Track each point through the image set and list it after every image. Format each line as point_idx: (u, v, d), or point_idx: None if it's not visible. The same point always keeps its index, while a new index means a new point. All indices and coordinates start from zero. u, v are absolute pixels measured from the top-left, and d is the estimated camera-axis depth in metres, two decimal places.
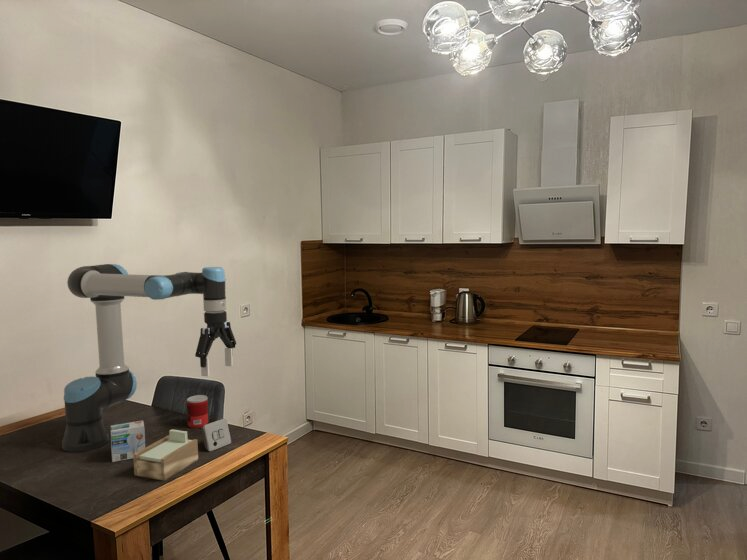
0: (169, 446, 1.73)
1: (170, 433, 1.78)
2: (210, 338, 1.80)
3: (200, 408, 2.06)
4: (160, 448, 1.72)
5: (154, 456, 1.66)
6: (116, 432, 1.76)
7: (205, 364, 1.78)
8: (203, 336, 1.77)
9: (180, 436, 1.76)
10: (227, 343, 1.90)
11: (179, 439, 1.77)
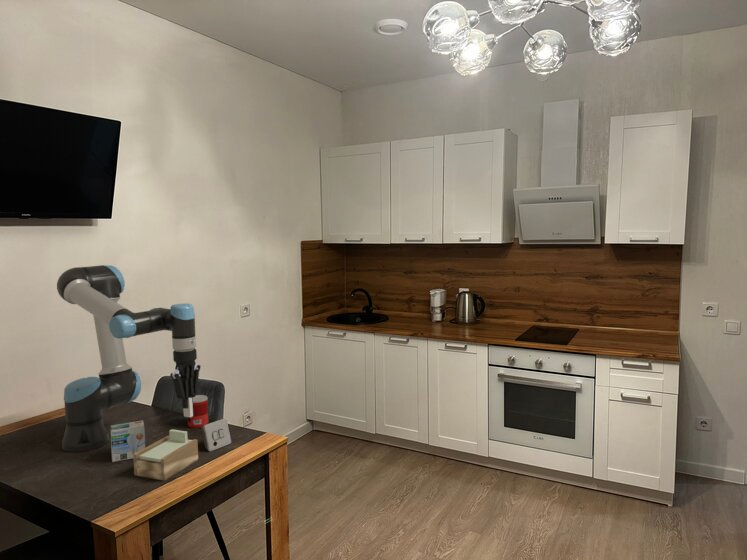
0: (169, 446, 1.73)
1: (170, 433, 1.78)
2: (184, 379, 1.78)
3: (200, 408, 2.06)
4: (160, 448, 1.72)
5: (154, 456, 1.66)
6: (116, 432, 1.76)
7: (187, 405, 1.80)
8: (176, 381, 1.75)
9: (180, 436, 1.76)
10: (189, 388, 1.81)
11: (179, 439, 1.77)
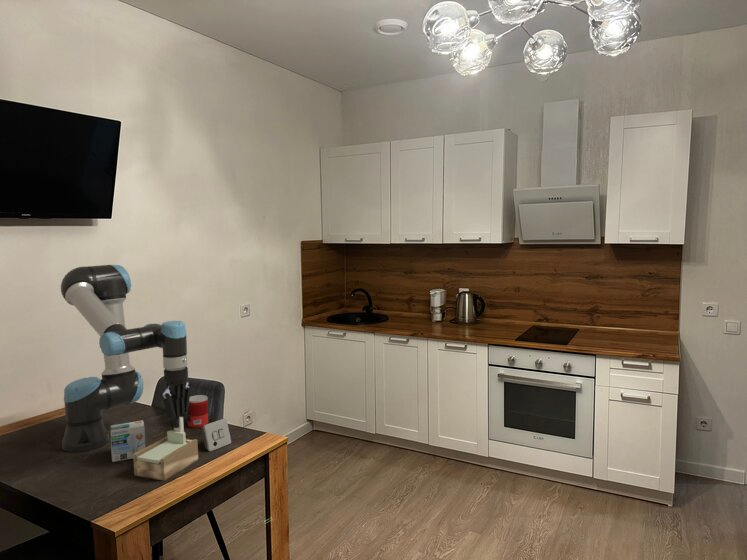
0: (167, 447, 1.72)
1: (168, 434, 1.77)
2: (174, 398, 1.74)
3: (200, 408, 2.06)
4: (158, 449, 1.71)
5: (152, 457, 1.65)
6: (116, 432, 1.76)
7: (178, 425, 1.76)
8: (167, 401, 1.71)
9: (178, 437, 1.75)
10: (180, 408, 1.77)
11: (177, 440, 1.76)
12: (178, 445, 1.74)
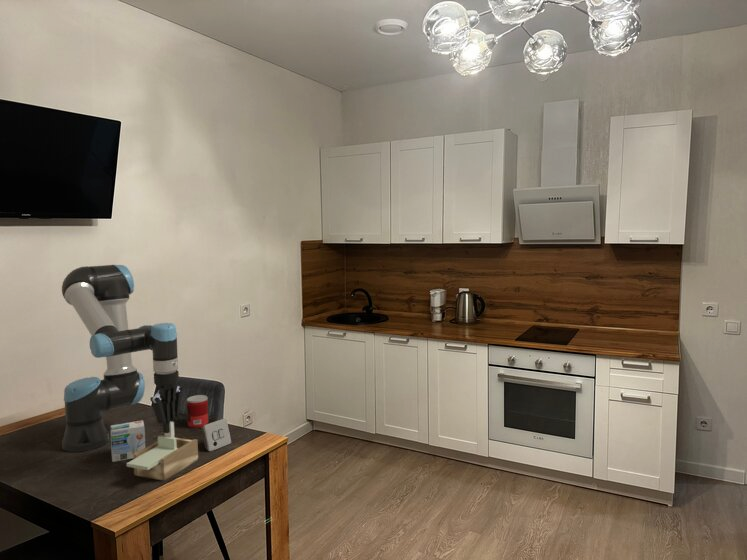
0: (157, 453, 1.68)
1: (158, 439, 1.72)
2: (165, 403, 1.70)
3: (200, 408, 2.06)
4: (148, 455, 1.66)
5: (142, 464, 1.60)
6: (116, 432, 1.76)
7: (168, 430, 1.72)
8: (156, 405, 1.67)
9: (169, 442, 1.71)
10: (170, 412, 1.73)
11: (167, 445, 1.71)
12: (169, 451, 1.70)
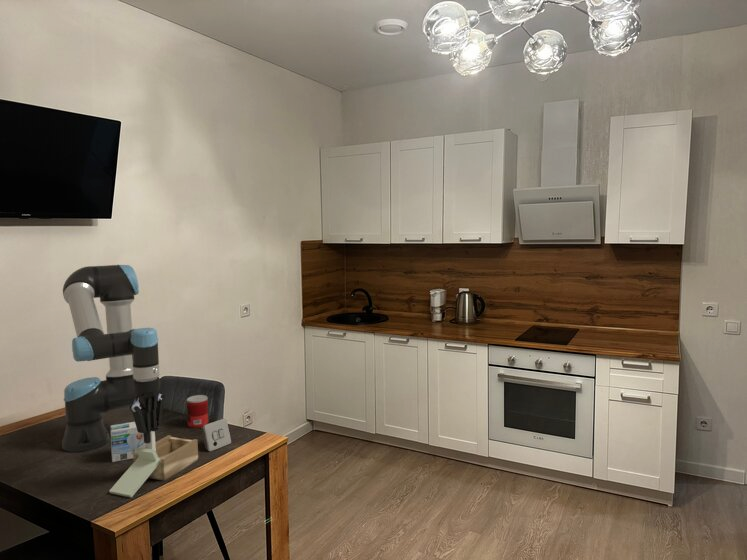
0: (139, 469, 1.61)
1: (138, 452, 1.64)
2: (145, 411, 1.62)
3: (200, 408, 2.06)
4: (130, 474, 1.60)
5: (124, 490, 1.55)
6: (116, 432, 1.76)
7: (149, 440, 1.64)
8: (136, 414, 1.59)
9: (149, 455, 1.63)
10: (151, 421, 1.65)
11: (148, 457, 1.64)
12: (151, 464, 1.62)
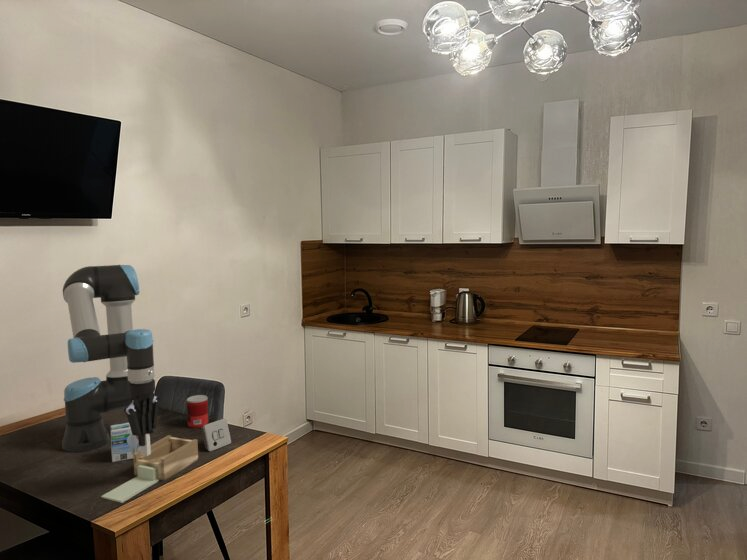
0: (136, 484, 1.60)
1: (138, 469, 1.64)
2: (140, 414, 1.60)
3: (200, 408, 2.06)
4: (126, 487, 1.58)
5: (116, 497, 1.52)
6: (116, 432, 1.76)
7: (144, 442, 1.62)
8: (130, 417, 1.57)
9: (148, 473, 1.63)
10: (146, 424, 1.63)
11: (147, 476, 1.63)
12: (148, 482, 1.61)
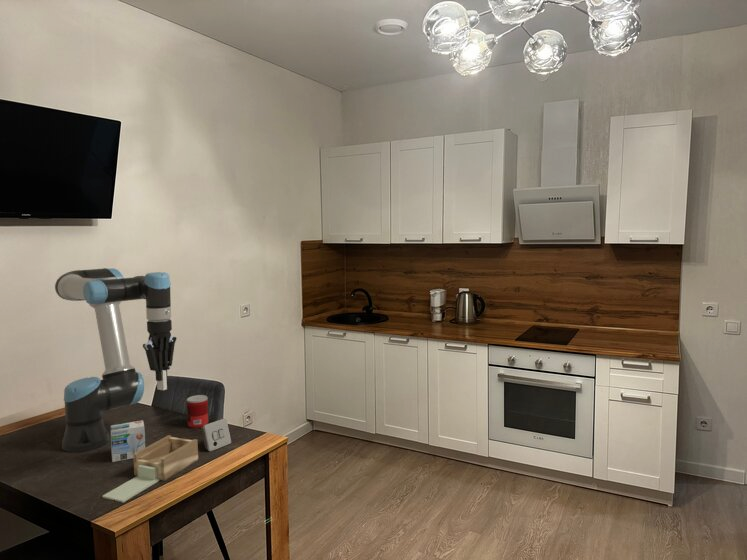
0: (136, 484, 1.60)
1: (139, 469, 1.65)
2: (157, 350, 1.72)
3: (200, 408, 2.06)
4: (126, 486, 1.59)
5: (118, 497, 1.53)
6: (116, 432, 1.76)
7: (161, 378, 1.74)
8: (149, 352, 1.69)
9: (149, 473, 1.63)
10: (163, 361, 1.75)
11: (148, 475, 1.63)
12: (148, 481, 1.62)
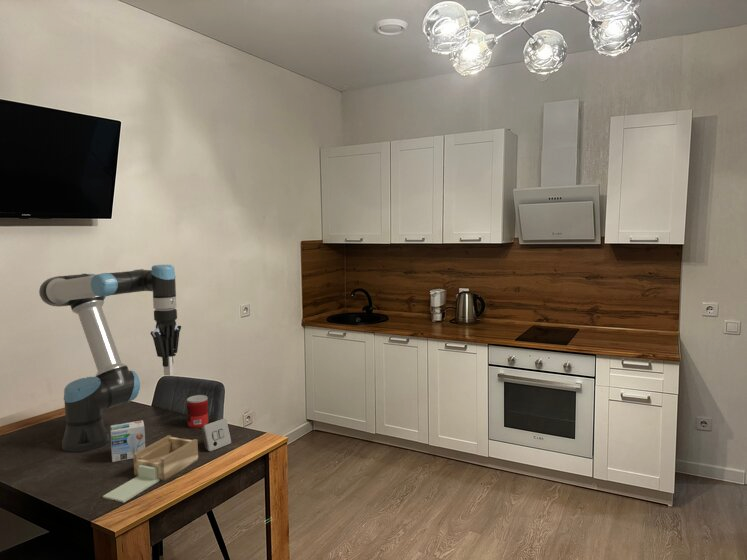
0: (137, 484, 1.60)
1: (139, 469, 1.65)
2: (164, 338, 1.83)
3: (200, 408, 2.06)
4: (127, 486, 1.59)
5: (118, 497, 1.52)
6: (116, 432, 1.76)
7: (167, 363, 1.85)
8: (156, 339, 1.80)
9: (149, 473, 1.63)
10: (169, 348, 1.86)
11: (148, 475, 1.63)
12: (149, 481, 1.62)
